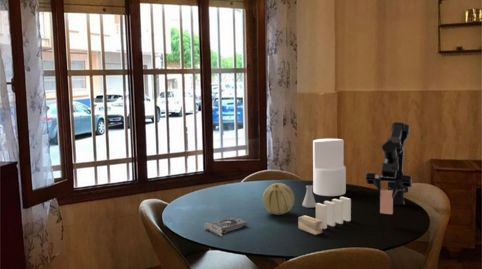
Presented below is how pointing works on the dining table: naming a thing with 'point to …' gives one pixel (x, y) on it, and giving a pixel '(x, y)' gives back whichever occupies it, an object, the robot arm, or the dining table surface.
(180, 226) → the dining table surface
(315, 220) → the block
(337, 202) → the domino
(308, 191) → the flask
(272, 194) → the cantaloupe
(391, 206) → the domino
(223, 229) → the graphics card
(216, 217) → the dining table surface
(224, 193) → the dining table surface
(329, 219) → the domino
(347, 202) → the domino
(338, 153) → the cylinder
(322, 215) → the domino
